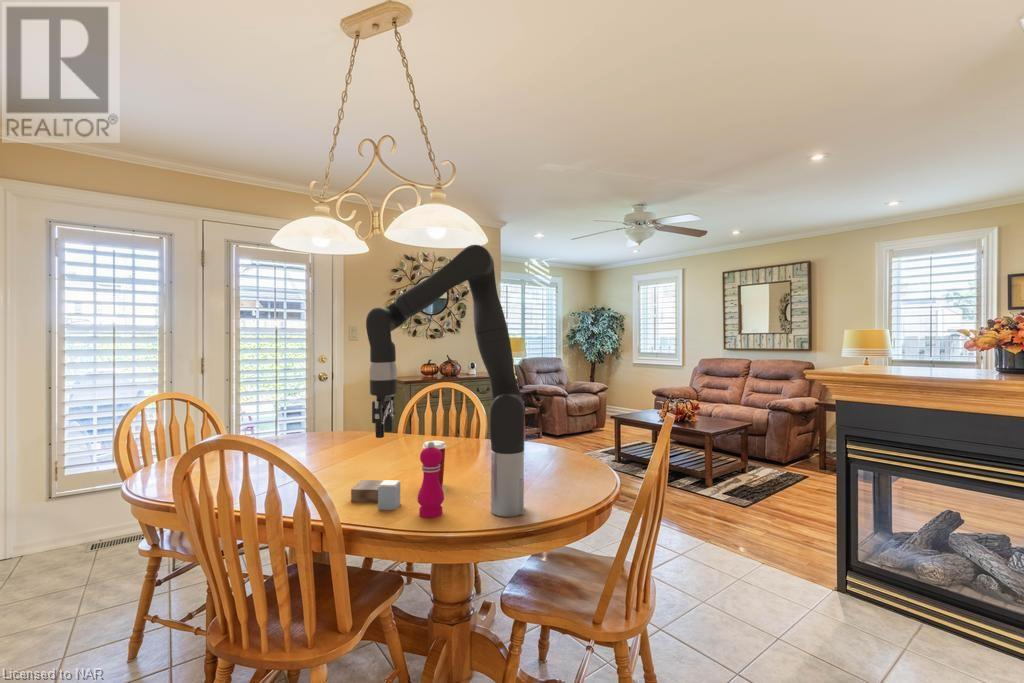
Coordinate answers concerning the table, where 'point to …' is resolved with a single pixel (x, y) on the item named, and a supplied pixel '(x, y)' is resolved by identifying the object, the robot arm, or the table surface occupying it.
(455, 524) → the table surface
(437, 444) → the paper cup
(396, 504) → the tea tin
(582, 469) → the table surface
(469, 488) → the table surface
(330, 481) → the table surface
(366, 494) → the walnut block
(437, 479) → the pepper mill
